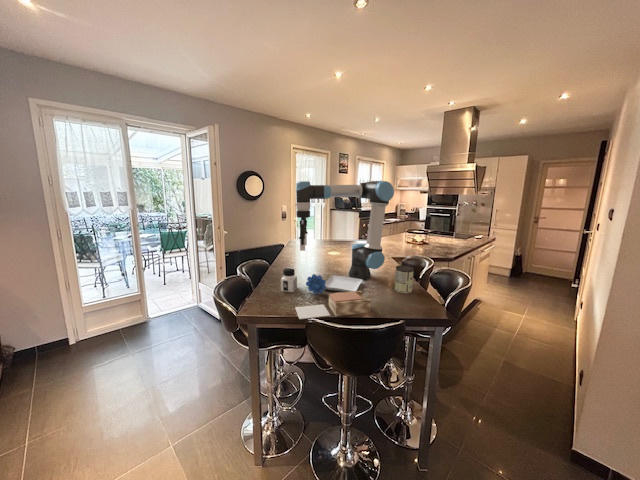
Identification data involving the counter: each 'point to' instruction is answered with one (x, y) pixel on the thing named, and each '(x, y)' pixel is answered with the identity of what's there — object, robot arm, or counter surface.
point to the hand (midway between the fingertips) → (303, 247)
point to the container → (288, 280)
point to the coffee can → (404, 279)
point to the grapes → (316, 284)
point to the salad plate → (342, 283)
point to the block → (344, 297)
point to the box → (350, 305)
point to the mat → (312, 311)
